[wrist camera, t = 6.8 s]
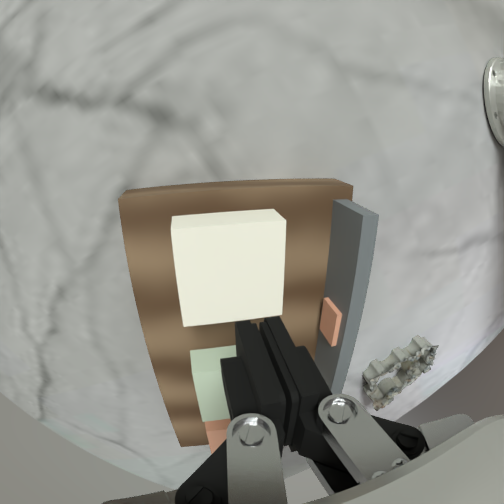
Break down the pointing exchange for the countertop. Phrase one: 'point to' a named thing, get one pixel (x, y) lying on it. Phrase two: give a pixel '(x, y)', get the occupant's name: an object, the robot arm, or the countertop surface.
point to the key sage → (210, 381)
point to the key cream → (229, 265)
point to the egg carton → (412, 364)
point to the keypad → (295, 277)
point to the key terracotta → (216, 432)
